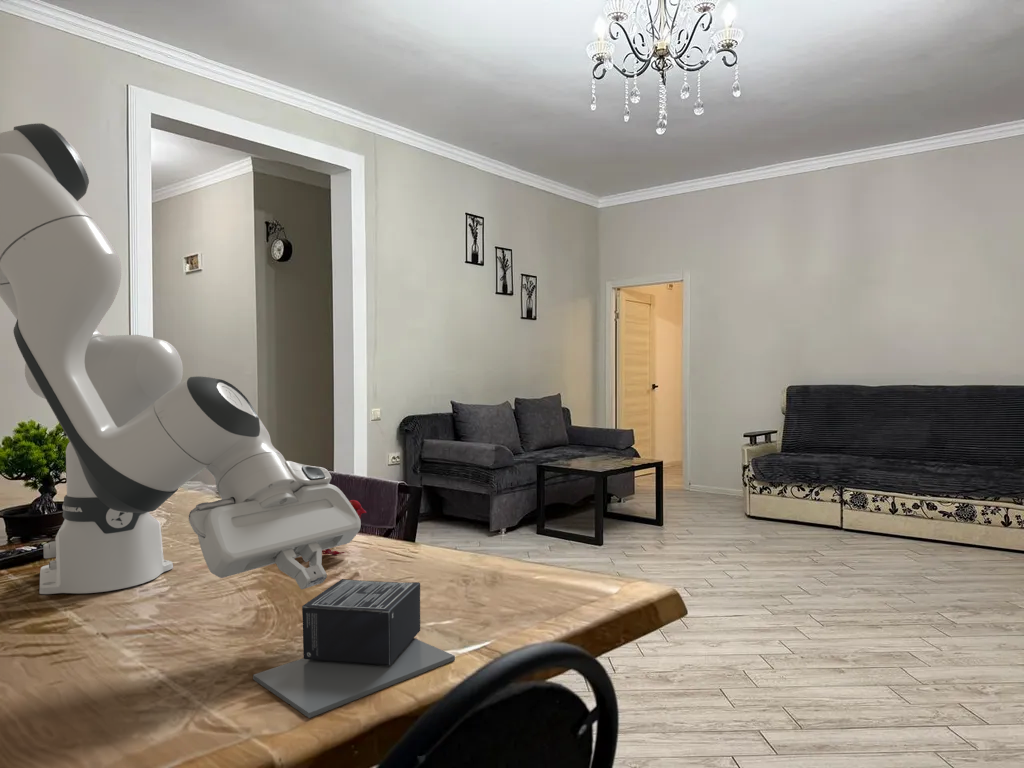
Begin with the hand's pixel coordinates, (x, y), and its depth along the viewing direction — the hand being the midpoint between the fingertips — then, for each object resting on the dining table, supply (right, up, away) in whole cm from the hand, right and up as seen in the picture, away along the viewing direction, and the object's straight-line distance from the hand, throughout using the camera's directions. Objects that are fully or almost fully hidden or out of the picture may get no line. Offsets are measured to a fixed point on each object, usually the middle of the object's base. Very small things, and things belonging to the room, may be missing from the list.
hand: (315, 583), depth 81 cm
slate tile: (+6, -8, -5) cm, 11 cm away
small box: (+1, -4, +1) cm, 4 cm away
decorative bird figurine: (-11, -7, +43) cm, 45 cm away
